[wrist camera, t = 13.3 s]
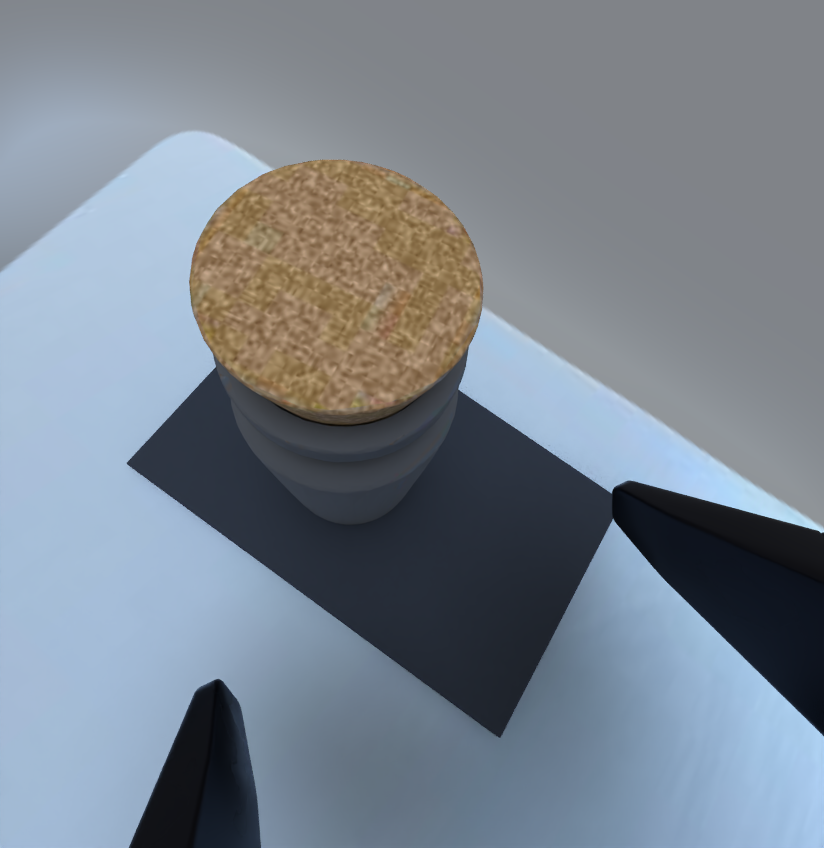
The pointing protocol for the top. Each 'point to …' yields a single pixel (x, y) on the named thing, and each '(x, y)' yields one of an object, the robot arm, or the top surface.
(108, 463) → the top surface
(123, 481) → the top surface
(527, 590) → the desk mat
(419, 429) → the cork-stoppered jar
